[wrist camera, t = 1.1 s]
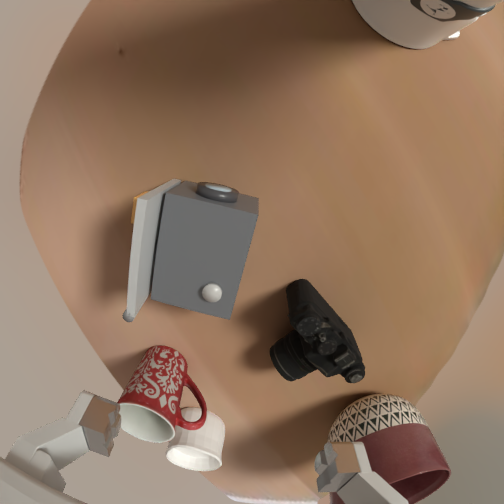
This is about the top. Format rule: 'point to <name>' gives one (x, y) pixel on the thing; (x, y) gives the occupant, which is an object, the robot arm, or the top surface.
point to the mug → (158, 397)
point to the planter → (393, 444)
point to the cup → (198, 442)
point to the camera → (315, 339)
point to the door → (144, 245)
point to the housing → (203, 247)
